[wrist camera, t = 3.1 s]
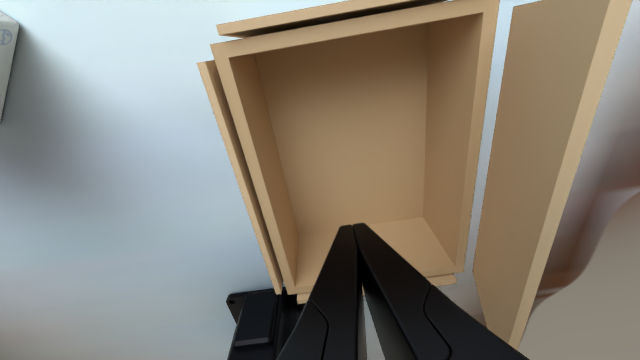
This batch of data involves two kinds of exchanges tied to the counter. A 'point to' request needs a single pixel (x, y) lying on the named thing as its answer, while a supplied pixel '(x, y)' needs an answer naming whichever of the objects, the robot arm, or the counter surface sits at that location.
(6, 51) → the light bulb box
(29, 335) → the counter surface
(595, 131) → the counter surface
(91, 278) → the counter surface
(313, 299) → the robot arm
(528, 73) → the flap near
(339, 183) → the carton
